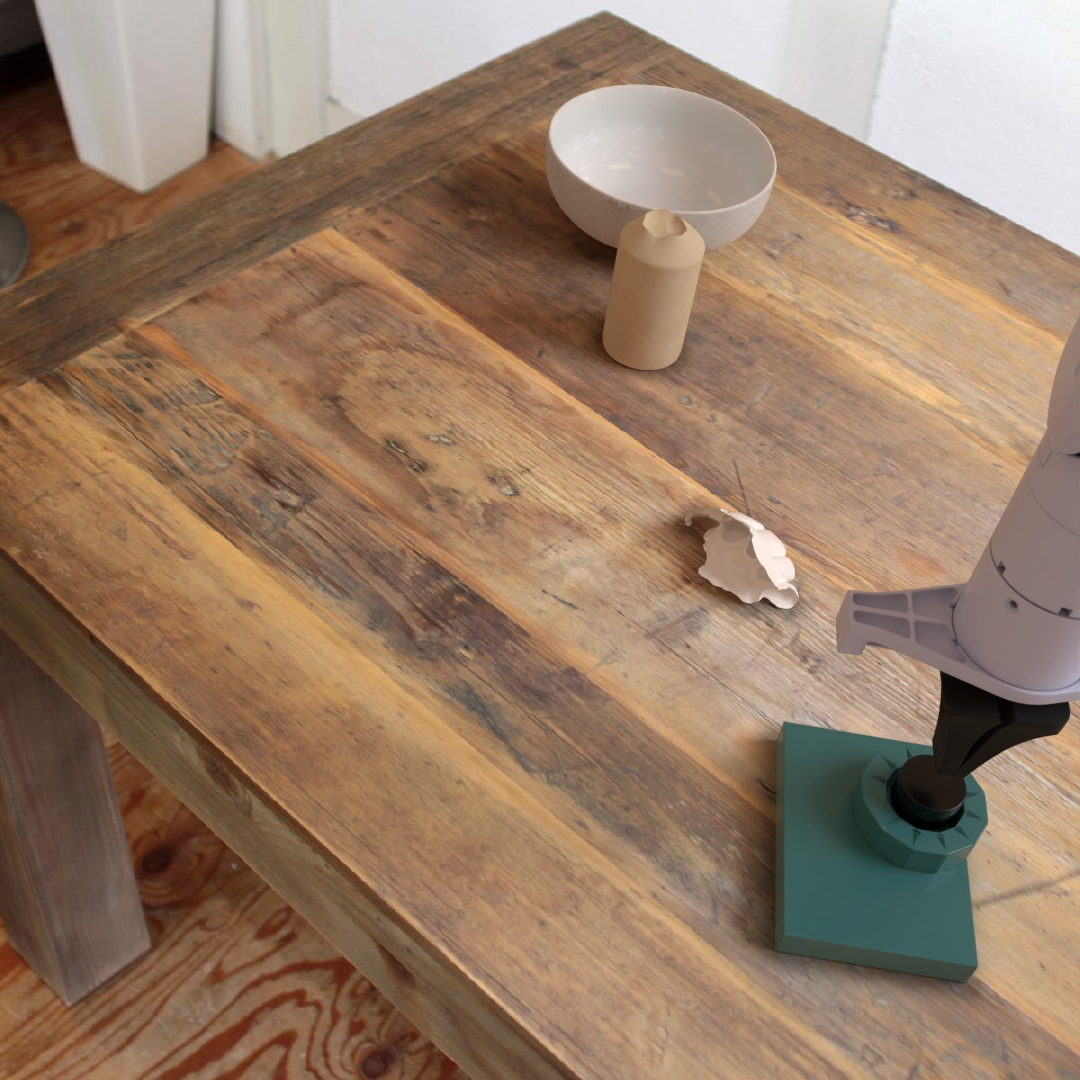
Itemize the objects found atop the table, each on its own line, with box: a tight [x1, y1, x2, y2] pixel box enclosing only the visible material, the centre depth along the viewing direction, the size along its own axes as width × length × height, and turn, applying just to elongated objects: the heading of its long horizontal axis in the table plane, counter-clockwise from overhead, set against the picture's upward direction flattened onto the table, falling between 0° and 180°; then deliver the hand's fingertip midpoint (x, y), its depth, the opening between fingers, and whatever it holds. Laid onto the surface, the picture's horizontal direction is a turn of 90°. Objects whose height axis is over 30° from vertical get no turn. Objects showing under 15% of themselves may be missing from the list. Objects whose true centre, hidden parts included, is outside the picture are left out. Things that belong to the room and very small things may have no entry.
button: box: [890, 754, 967, 830], centre depth 64 cm, size 3×3×2 cm
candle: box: [602, 209, 705, 371], centre depth 88 cm, size 6×6×10 cm
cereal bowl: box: [544, 83, 778, 255], centre depth 99 cm, size 17×17×7 cm
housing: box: [774, 721, 989, 984], centre depth 65 cm, size 12×10×4 cm
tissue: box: [681, 507, 800, 610], centre depth 77 cm, size 6×8×4 cm
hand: (948, 758), depth 62 cm, fingers closed
